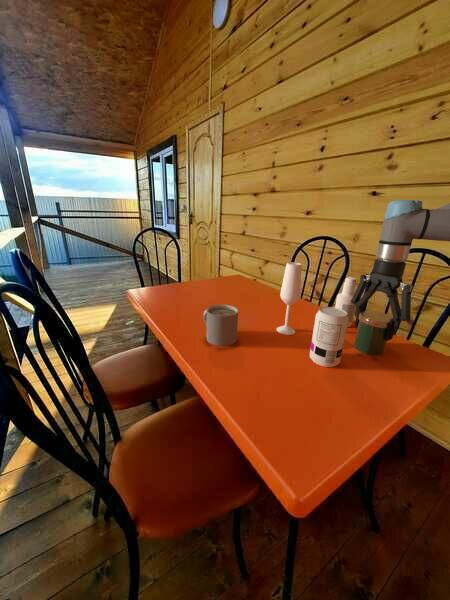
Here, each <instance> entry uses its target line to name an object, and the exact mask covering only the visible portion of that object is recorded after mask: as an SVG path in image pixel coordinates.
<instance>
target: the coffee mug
mask: <svg viewBox="0 0 450 600" xmlns="http://www.w3.org/2000/svg"><path fill="white" fill-rule="evenodd" d="M202 316H203V323H204V324H205V325H206V329H205V330H206V334H205V335H206V337H205V339H206V341H207V342H208V343H209V344H211V345H214V346H217V347H227V346H231V345H234V344H235V343H236V342H237V341H238V324H239V322H238V321H239V309H238V308H237V307H235V306H233V305H229V304H214V305H210V306H209V307H207V308H206V309H205V310H204V311H203V315H202Z"/></svg>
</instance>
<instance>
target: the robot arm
mask: <svg viewBox="0 0 450 600" xmlns="http://www.w3.org/2000/svg"><path fill="white" fill-rule="evenodd" d="M414 240H426V241H437V242H439V241H440V242H450V203H448V204H447V203H446V204H445V205H442V206H440V207H437V208H433V209H429V208H423V201H422V200H420V199H419V200H418V199H417V200H416V199H415V200H413V199H396V200H395V199H394V200H392V201H390V202H389V203H388V204H387V207H386V210H385V214H384V217H383V221H382V226H381V231H380V236H379V241H378V245H377V249H376V252H375V257H376V259H374V261H373V266H372V273H371V274H368V273H365V274H364V273H363V274H360V276H359V282H358V285H357V287H356V288H355V292H354V296H353V298H352V300H351V303H352V304H355V305H356V308H355V312H354V317H356V318H355V322H354V326H353V327H354V328H355V329H357V328H358V324H359V319H358V318H359V314H360V312H361V311H366V309H367V307H365V305H366V303H367V302H369V300H370V299H371V298H372V297H373V296H374V294H375V293H376V292H381V293H383V294H386V297H387V298H388V302H389V307H390V311H391V314H392V315H391V316H392V317H393V319H390V321H389V325H388V329H387V333H386V336H385V340H386V341H387V342H388V341H391V340H393V338H394V334H395V332H397V331H398V330H399V329H400V326H401V323H402V322H406V321H409V320H411V315H412V314H411V309H412V308H411V307H412V292H413V290H414V288H415V287H414V284H412V283H410V284H408V283H406V282H404V281H403V276H404V273H405V270H406V266H407V263H406V262H405V261H407V260H408V258H409V254H410V251H411V247H412V245H413V241H414ZM369 282H370V283H371V285H370V286H369V287H368V288H367V286H368V284H369ZM366 288H367V291H366V292H365V290H366ZM398 288H400V291H401V293H400V294H401V295H400V296H401V299H400V300H399V296H398V295H399V291H398ZM364 292H365V293H364ZM400 302H401V303H400Z"/></svg>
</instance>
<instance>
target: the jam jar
mask: <svg viewBox="0 0 450 600" xmlns="http://www.w3.org/2000/svg"><path fill="white" fill-rule="evenodd" d="M387 329H388V328H378V327H373V326H369V325H366V324H364V323H362V322H361V321H360V320H359V324H358V327H357V328H356V333H355V337H354V342H353V348H354V349H356V351H358V352H361V353H363V354H364V355H368V356H374V357H375V356H376V357H378V356H382V355H384V353H385V350H386V347H387V342H388V341H386V340H385V336H386V333H387Z"/></svg>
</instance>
